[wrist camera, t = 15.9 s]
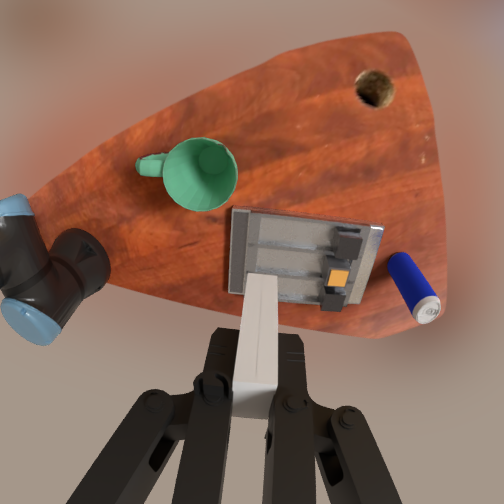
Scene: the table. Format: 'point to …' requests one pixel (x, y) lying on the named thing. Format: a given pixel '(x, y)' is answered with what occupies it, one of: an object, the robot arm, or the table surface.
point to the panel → (301, 253)
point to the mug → (194, 173)
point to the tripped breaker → (335, 271)
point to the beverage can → (414, 288)
